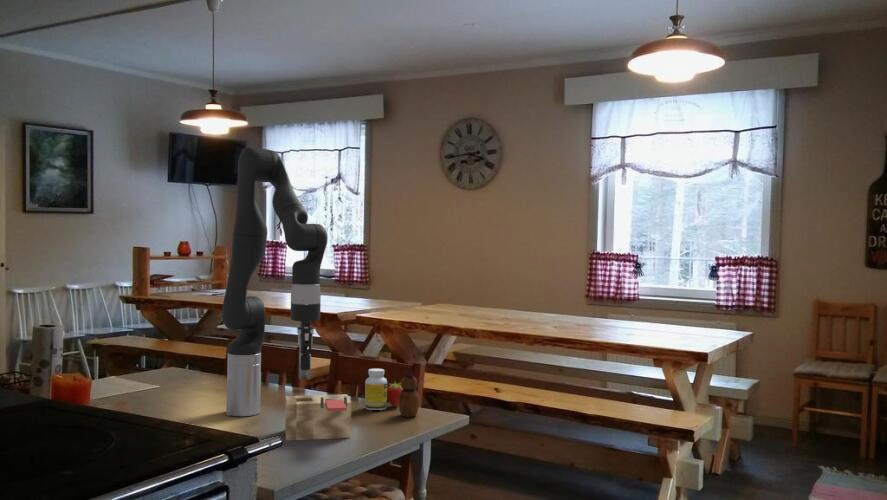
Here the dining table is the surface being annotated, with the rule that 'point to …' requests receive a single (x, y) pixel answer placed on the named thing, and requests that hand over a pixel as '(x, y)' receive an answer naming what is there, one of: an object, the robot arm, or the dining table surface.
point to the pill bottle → (376, 390)
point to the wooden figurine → (408, 395)
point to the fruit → (394, 394)
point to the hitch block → (316, 418)
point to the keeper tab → (335, 405)
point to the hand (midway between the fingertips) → (304, 368)
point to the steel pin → (304, 373)
